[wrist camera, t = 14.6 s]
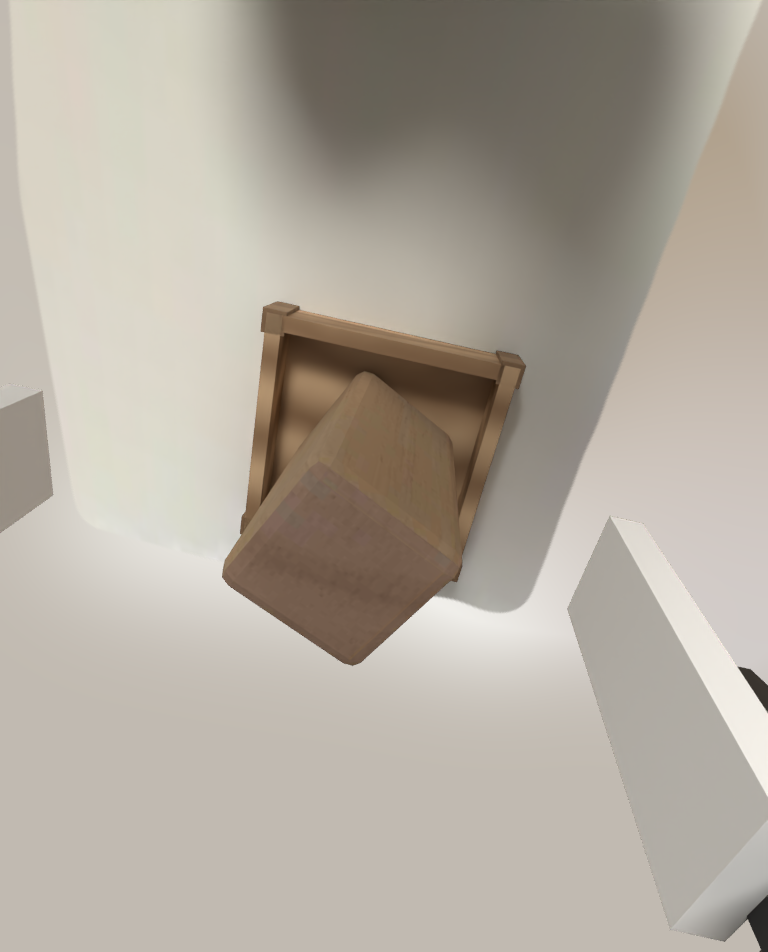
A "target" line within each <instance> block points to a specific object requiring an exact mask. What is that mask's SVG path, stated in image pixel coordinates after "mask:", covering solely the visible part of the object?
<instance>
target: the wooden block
mask: <svg viewBox="0 0 768 952" xmlns="http://www.w3.org/2000/svg"><path fill="white" fill-rule="evenodd" d="M461 563H462V552H461V540H460V528H459V516H458V504H457V492H456V480H455V468H454V456H453V444H452V441H451V439H450V437H449V435H448V434H447V433H445V432H444V431H443V430H442V429H440V428H439V427H438V426H437V425H436V424H434V423H433V422H432V421H431V420H429V419H428V418H427V417H426V416H425V415H423V414H422V413H421V412H420V411H419V410H417V409H416V408H415V407H414V406H412V405H411V404H410V403H409V402H408V401H406V400H405V399H404V398H403V397H401V396H400V395H399V394H398V393H397V392H395V391H394V390H393V389H392V388H391V387H389V386H388V385H387V384H386V383H384V382H383V381H382V380H381V379H380V378H378V377H377V376H376V375H375V374H373V373H370V372H367V371H364V372H362V373H360V374H358V375H356V377H355V378H354V379H353V380H352V381H351V383H350V384H349V385H348V386H347V388H346V389H345V390H344V391H343V393H342V394H341V395H340V396H339V398H338V399H337V400H336V401H335V403H334V404H333V405H332V406H331V408H330V409H329V410H328V411H327V413H326V414H325V415H324V416H323V418H322V419H321V420H320V421H319V423H318V424H317V425H316V426H315V428H314V429H313V430H312V431H311V433H310V434H309V435H308V436H307V438H306V439H305V440H304V441H303V443H302V444H301V445H300V447H299V448H298V450H297V451H296V453H295V454H294V456H293V457H292V459H291V460H290V462H289V463H288V465H287V466H286V468H285V469H284V471H283V472H282V474H281V476H280V477H279V479H278V480H277V482H276V483H275V485H274V486H273V488H272V489H271V491H270V492H269V494H268V495H267V497H266V498H265V500H264V501H263V503H262V504H261V506H260V508H259V509H258V511H257V512H256V514H255V515H254V517H253V518H252V520H251V521H250V523H249V524H248V526H247V527H246V529H245V530H244V532H243V533H242V535H241V537H240V538H239V540H238V541H237V543H236V544H235V546H234V547H233V549H232V550H231V552H230V553H229V555H228V556H227V558H226V559H225V562H224V567H223V574H222V578H223V579H224V580H225V582H226V583H227V584H228V585H229V586H230V587H231V588H233V589H234V590H236V591H237V592H239V593H240V594H242V595H243V596H245V597H246V598H248V599H249V600H250V601H252V602H254V603H255V604H257V605H258V606H260V607H261V608H262V609H264V610H265V611H267V612H268V613H270V614H271V615H273V616H274V617H276V618H277V619H279V620H280V621H282V622H283V623H285V624H286V625H288V626H289V627H290V628H292V629H294V630H295V631H297V632H298V633H299V634H301V635H302V636H304V637H305V638H307V639H308V640H310V641H311V642H313V643H314V644H316V645H317V646H319V647H321V648H322V649H323V650H325V651H326V652H327V653H329V654H331V655H332V656H333V657H335V658H336V659H338V660H339V661H341V662H342V663H344V664H349V665H352V666H353V665H356V664H358V663H361V662H362V661H363V660H364V659H365V658H366V657H367V656H368V655H370V654H371V653H372V652H373V651H374V650H375V649H376V648H377V647H378V646H379V645H380V644H382V643H383V642H384V641H385V640H386V639H387V638H388V637H389V636H390V635H391V634H393V632H395V631H396V630H397V629H398V628H399V627H400V626H401V625H402V624H403V623H405V622H406V621H407V620H408V619H409V618H410V617H411V616H412V615H413V614H414V613H416V612H417V611H418V610H419V609H420V608H421V607H422V606H423V605H424V604H425V603H426V602H428V601H429V600H430V599H431V598H432V597H433V596H434V595H435V594H436V593H437V592H439V591H440V590H441V589H442V588H443V587H444V586H445V585H446V584H447V583H448V582H449V581H451V580H452V579H453V578H454V577H455V575H456V574H457V573H458V570H459V568H460V566H461Z"/></svg>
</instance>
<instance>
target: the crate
mask: <svg viewBox="0 0 768 952" xmlns="http://www.w3.org/2000/svg"><path fill="white" fill-rule="evenodd" d="M261 332H265V333H264V342H263V352H262V361H261V371H260V380H259V390H258V399H257V409H256V418H255V428H254V437H253V447H252V456H251V466H250V476H249V485H248V495H247V504H246V512H245V513H244V514H243V516H242V520H241V529H240V534H242V533H243V532H244V530H245V529H246V527H247V526H248V524H249V523H250V521H251V520H252V518H253V517H254V515H255V514H256V512H257V511H258V509H259V508H260V506H261V504H262V503H263V501H264V500H265V498H266V497H267V495H268V494H269V492H270V491H271V489H272V488H273V486H274V485H275V483H276V482H277V480H278V479H279V477H280V476H281V474H282V472H283V471H284V469H285V468H286V466H287V465H288V463H289V462H290V460H291V459H292V457H293V456H294V454H295V453H296V451H297V450H298V448H299V447H300V445H301V444H302V443H303V441H304V440H305V439H306V438H307V436H308V435H309V434H310V433H311V431H312V430H313V429H314V428H315V426H316V425H317V424H318V423H319V421H320V420H321V419H322V418H323V416H324V415H325V414H326V413H327V411H328V410H329V409H330V408H331V406H332V405H333V404H334V403H335V401H336V400H337V399H338V398H339V396H340V395H341V394H342V393H343V391H344V390H345V389H346V388H347V386H348V385H349V384H350V383H351V381H352V380H353V379H354V378H355V377H356V375H358V374H360V373H362V372H364V371H367V372H370V373H373V374H375V375H376V376H377V377H378V378H380V379H381V380H382V381H383V382H384V383H386V384H387V385H388V386H389V387H391V388H392V389H393V390H394V391H395V392H397V393H398V394H399V395H400V396H401V397H403V398H404V399H405V400H406V401H408V402H409V403H410V404H411V405H412V406H414V407H415V408H416V409H417V410H419V411H420V412H421V413H422V414H423V415H425V416H426V417H427V418H428V419H429V420H431V421H432V422H433V423H434V424H436V425H437V426H438V427H439V428H440V429H442V430H443V431H444V432H445V433H447V434H448V435H449V437H450V439H451V441H452V444H453V456H454V468H455V480H456V492H457V504H458V516H459V528H460V540H461V552H462V554H463V551H464V547H465V544H466V541H467V538H468V535H469V532H470V528H471V525H472V522H473V519H474V516H475V513H476V509H477V506H478V503H479V500H480V497H481V494H482V490H483V487H484V484H485V481H486V478H487V475H488V471H489V468H490V465H491V462H492V459H493V456H494V452H495V449H496V446H497V443H498V440H499V437H500V433H501V430H502V427H503V424H504V421H505V418H506V414H507V411H508V408H509V405H510V402H511V399H512V395H513V392H514V389H515V388H516V389H519V386H520V383H521V380H522V377H523V374H524V371H525V368H526V365H525V364H524V362H523V361H522V360H521V358H520V357H519V355H515V354H511V353H506V352H502V351H496V354H493V353H489V352H484V351H480V350H475V349H471V348H466V347H462V346H458V345H453V344H449V343H444V342H440V341H435V340H431V339H426V338H422V337H417V336H413V335H408V334H404V333H399V332H395V331H391V330H386V329H382V328H377V327H373V326H368V325H364V324H359V323H355V322H350V321H346V320H341V319H337V318H332V317H328V316H323V315H319V314H315V313H310V312H306V311H301V310H299V306H296V305H292V304H287V303H283V302H278V301H277V302H275V303H272V304H270V305H267V306H265V307H263V313H262V323H261ZM461 568H462V563H461V566H460V568H459V570H458V573H457V574H456V575H455V577H454V578H453V579H452V580H451V581H454V582H457V581H458V577H459V574H460V571H461Z"/></svg>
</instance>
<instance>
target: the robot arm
mask: <svg viewBox="0 0 768 952" xmlns="http://www.w3.org/2000/svg"><path fill="white" fill-rule="evenodd" d="M52 495H53V489H52V479H51V469H50V459H49V450H48V440H47V430H46V421H45V410H44V401H43V391H42V390H37V389H33V388H28V387H24V386H19V385H14V384H10V383H9V384H7V385H4V386H1V387H0V533H1V532H2V531H4V530H5V529H7V528H8V527H9V526H11V525H12V524H14V523H15V522H16V521H18V520H19V519H20V518H22V517H23V516H25V515H26V514H27V513H29V512H30V511H32V510H33V509H35V508H36V507H37V506H39V505H40V504H41V503H43V502H44V501H46V500H47V499H49V498H50V497H51V496H52ZM568 612H569V616H570V618H571V622H572V625H573V628H574V631H575V634H576V637H577V641H578V644H579V647H580V650H581V653H582V656H583V659H584V662H585V665H586V669H587V672H588V675H589V678H590V681H591V684H592V687H593V690H594V694H595V697H596V700H597V703H598V706H599V709H600V712H601V715H602V718H603V722H604V725H605V728H606V731H607V734H608V737H609V740H610V743H611V747H612V750H613V753H614V756H615V759H616V762H617V765H618V768H619V771H620V775H621V778H622V781H623V784H624V787H625V790H626V793H627V797H628V800H629V803H630V806H631V809H632V812H633V815H634V818H635V821H636V825H637V828H638V831H639V834H640V837H641V840H642V843H643V847H644V849H645V853H646V856H647V859H648V862H649V865H650V868H651V871H652V875H653V878H654V881H655V884H656V887H657V890H658V893H659V896H660V899H661V903H662V906H663V909H664V912H665V915H666V918H667V921H668V925H669V928H670V930H674V931H679V932H684V933H688V934H692V935H697V936H702V937H706V938H710V939H715V940H720V941H724V942H725V941H726V940H727V939H728V938H729V937H730V936H731V935H732V934H733V933H734V932H735V931H736V930H737V929H738V928H739V927H740V926H741V925H742V924H743V923H744V922H745V921H746V920H747V919H748V920H749V923H750V925H751V927H752V930H753V932H754V934H755V936H756V938H757V941H758V943H759V946H760V948H761V951H760V952H768V685H767V684H766V683H765V682H764V681H762V680H761V679H760V678H759V677H758V676H757V675H756V674H755V673H754V672H753V671H752V670H751V669H746V668H742V667H737V666H736V664H735V663H734V661H733V660H732V658H731V657H730V655H729V653H728V652H727V650H726V649H725V647H724V646H723V644H722V643H721V641H720V640H719V638H718V637H717V635H716V634H715V632H714V631H713V629H712V628H711V626H710V625H709V623H708V622H707V620H706V619H705V617H704V615H703V614H702V612H701V611H700V609H699V608H698V606H697V605H696V604H695V602H694V600H693V599H692V597H691V596H690V594H689V593H688V591H687V590H686V588H685V587H684V585H683V584H682V582H681V581H680V579H679V577H678V576H677V574H676V573H675V572H674V570H673V568H672V567H671V565H670V564H669V562H668V561H667V559H666V558H665V556H664V555H663V553H662V551H661V550H660V548H659V547H658V545H657V544H656V542H655V541H654V539H653V538H652V536H651V535H650V533H649V532H648V530H647V529H646V527H645V526H644V524H643V523H640V522H635V521H631V520H625V519H622V518H617V517H613V516H610V517H609V519H608V521H607V523H606V525H605V528H604V530H603V532H602V534H601V536H600V539H599V541H598V543H597V545H596V547H595V549H594V551H593V554H592V556H591V558H590V560H589V562H588V565H587V567H586V569H585V571H584V574H583V576H582V578H581V580H580V582H579V585H578V587H577V589H576V591H575V593H574V595H573V597H572V600H571V602H570V604H569V606H568Z"/></svg>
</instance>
